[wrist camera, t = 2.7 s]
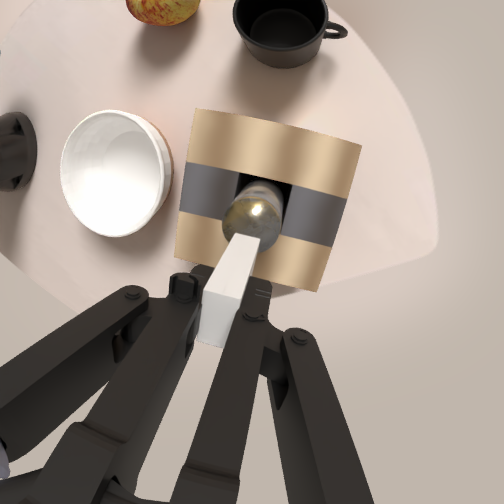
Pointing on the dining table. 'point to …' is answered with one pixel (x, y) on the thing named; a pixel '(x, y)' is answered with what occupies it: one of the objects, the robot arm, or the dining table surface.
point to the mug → (284, 29)
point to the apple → (162, 11)
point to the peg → (256, 213)
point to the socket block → (272, 167)
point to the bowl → (115, 172)
